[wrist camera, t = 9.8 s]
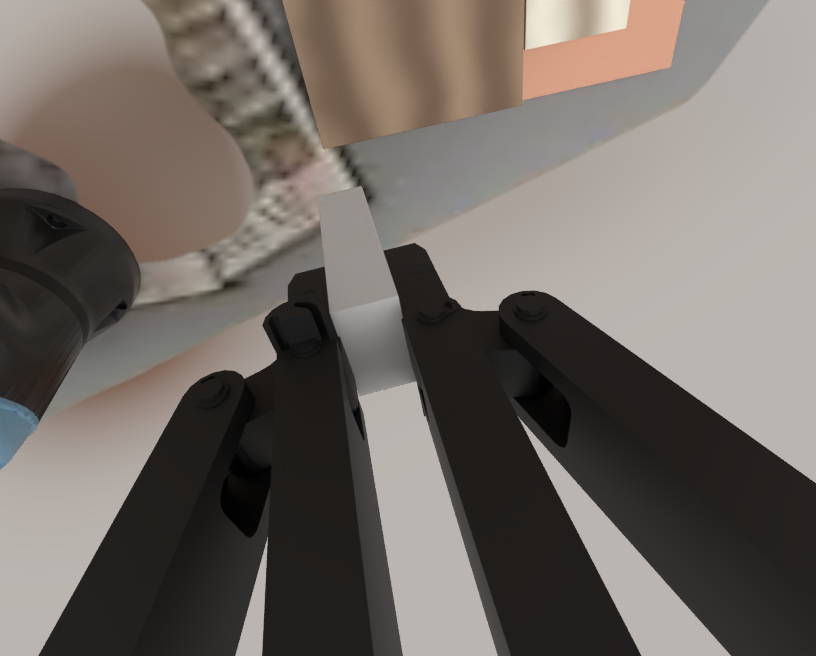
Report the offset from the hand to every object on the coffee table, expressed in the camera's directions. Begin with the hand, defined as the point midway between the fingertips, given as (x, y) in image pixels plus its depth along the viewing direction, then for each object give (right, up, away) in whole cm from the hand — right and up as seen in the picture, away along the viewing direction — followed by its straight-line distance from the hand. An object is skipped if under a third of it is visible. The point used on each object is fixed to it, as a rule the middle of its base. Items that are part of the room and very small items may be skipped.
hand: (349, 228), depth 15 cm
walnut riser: (+2, +22, +21) cm, 30 cm away
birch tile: (+15, +25, +21) cm, 36 cm away
